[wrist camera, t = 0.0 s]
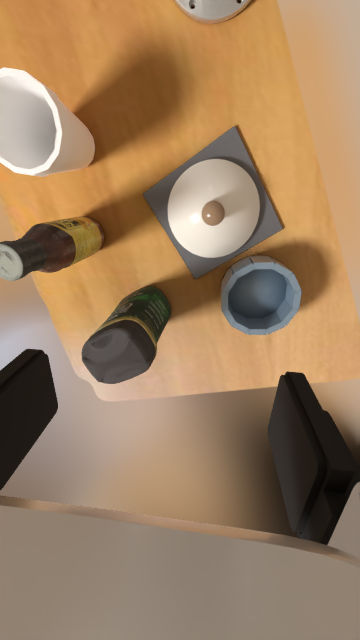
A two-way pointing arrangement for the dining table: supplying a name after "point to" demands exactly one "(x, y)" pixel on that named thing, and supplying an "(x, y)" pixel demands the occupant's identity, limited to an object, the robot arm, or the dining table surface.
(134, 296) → the coffee jar
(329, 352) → the dining table surface
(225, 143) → the mat
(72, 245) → the sauce bottle
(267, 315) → the bowl
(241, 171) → the lid
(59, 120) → the foam cup
